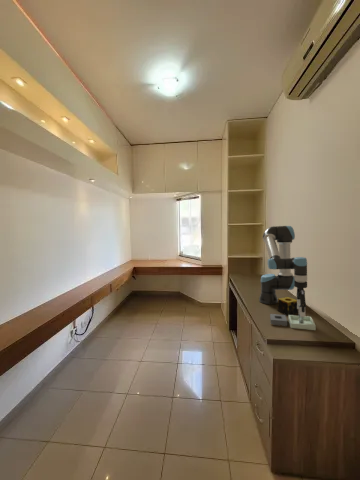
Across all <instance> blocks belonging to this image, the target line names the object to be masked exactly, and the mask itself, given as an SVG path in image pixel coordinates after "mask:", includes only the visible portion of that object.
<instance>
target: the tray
mask: <svg viewBox="0 0 360 480" xmlns="http://www.w3.org/2000/svg"><path fill="white" fill-rule="evenodd" d="M287 316H288V322H289V325H290V328H291V329H299V330H309V331H316V330H317V329H316V328H317V325H316V323H315V321H314V319H313V318H312V316H309V315H307V316H306V315H305V317H304V324H300V323H299V315H296V314H293V315H287Z"/></svg>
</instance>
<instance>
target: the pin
mask: <svg viewBox="0 0 360 480" xmlns="http://www.w3.org/2000/svg"><path fill="white" fill-rule="evenodd" d="M300 306H301V305H298V308H299V309H298V316H299V323H300V324H304V317H301V316H300Z"/></svg>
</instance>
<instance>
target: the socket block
mask: <svg viewBox="0 0 360 480" xmlns="http://www.w3.org/2000/svg"><path fill="white" fill-rule="evenodd" d="M269 318H270V320H269V321H270V325H271V324H273V325H272V326H280V325H282V327H288V320H287V315H286V314H277V313H276V314H275V313H270V314H269Z"/></svg>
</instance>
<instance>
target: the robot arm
mask: <svg viewBox="0 0 360 480" xmlns="http://www.w3.org/2000/svg"><path fill="white" fill-rule="evenodd" d="M295 237H296V236H295V230H294V228H293V226H291V225H279V226H276V225H275V226H274V225H273V226H269V227H268V228H266V229H265V230H264V232H263V234H262V239H263V240H262V241H263V242H264V243H265V247H266V249H267V250H266V251H267V254H268V259H267V268H268V269H269V270H279V272H277V275H275V274H274V273H265V274H262V275H261V277H260V295H259V297H258V299H259V300H258V301H259V302H260V303H262V304H265V305H276V304H278V299H279V298H278V296H277V293H276V291H282V290H283V291H291V290H294V288H296V300H297V309H298V310H299V308H298V305H301V306H300V316H301V317H305V316H306V308H307V302H306V291H305V290H304V289H306V288H308V260H307V258H306V257H304V256H297V257H291V244H292V243H293V241H294V240H295V239H296V238H295ZM277 244H278V245H277ZM291 270H293V271H294V272H293V273H292V272H291ZM293 274H294V275H293Z"/></svg>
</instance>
